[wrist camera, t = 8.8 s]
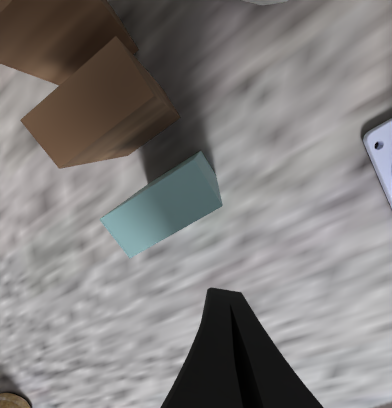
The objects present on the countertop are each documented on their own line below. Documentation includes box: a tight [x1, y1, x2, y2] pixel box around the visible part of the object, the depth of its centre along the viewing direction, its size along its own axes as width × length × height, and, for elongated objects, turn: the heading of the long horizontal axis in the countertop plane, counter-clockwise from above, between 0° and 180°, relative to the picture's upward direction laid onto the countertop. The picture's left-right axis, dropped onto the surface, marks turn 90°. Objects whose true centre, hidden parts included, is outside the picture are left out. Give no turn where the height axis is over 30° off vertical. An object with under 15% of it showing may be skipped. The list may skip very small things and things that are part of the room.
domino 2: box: [20, 36, 181, 169], centre depth 11 cm, size 2×4×7 cm, turn 123°
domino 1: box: [0, 0, 139, 85], centre depth 10 cm, size 2×4×7 cm, turn 123°
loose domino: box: [100, 151, 223, 258], centre depth 11 cm, size 2×4×7 cm, turn 122°
